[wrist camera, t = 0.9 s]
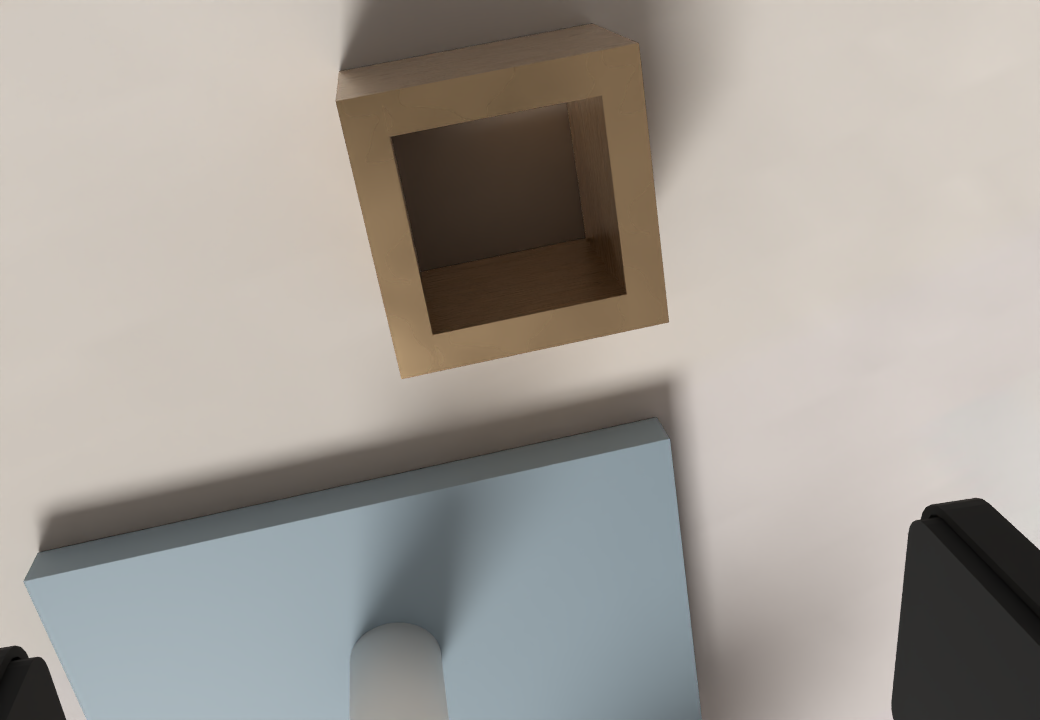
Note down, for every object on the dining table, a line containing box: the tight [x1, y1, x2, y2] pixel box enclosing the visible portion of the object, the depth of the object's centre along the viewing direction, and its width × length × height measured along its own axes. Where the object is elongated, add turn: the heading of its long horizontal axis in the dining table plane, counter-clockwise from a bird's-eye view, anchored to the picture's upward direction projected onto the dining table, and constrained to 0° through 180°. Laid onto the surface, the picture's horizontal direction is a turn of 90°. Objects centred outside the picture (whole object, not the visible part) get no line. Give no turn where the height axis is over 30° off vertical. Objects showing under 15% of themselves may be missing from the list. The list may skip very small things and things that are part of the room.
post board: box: [23, 417, 702, 720], centre depth 30 cm, size 20×12×8 cm, turn 99°
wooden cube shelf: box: [336, 23, 669, 379], centre depth 26 cm, size 7×7×5 cm
